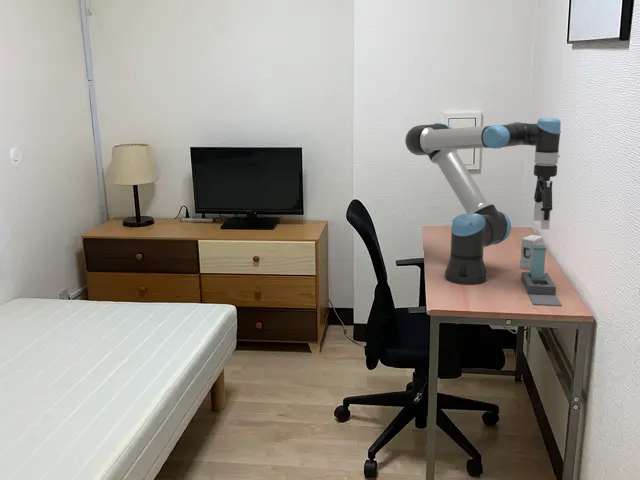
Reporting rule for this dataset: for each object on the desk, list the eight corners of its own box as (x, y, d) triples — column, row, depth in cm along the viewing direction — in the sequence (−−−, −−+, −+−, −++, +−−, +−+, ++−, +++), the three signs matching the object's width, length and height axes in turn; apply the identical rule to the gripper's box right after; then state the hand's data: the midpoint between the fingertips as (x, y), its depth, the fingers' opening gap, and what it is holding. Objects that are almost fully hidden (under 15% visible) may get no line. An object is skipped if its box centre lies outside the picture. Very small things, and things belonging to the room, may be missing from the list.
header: (555, 295, 217) (556, 287, 216) (528, 294, 218) (528, 285, 217) (546, 280, 232) (547, 272, 231) (521, 279, 233) (521, 271, 232)
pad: (561, 306, 207) (562, 305, 206) (533, 304, 208) (533, 303, 208) (556, 296, 215) (556, 295, 215) (528, 295, 216) (528, 294, 216)
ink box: (529, 262, 254) (531, 234, 251) (541, 265, 251) (543, 236, 248) (519, 267, 248) (521, 238, 245) (531, 270, 245) (533, 240, 242)
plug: (543, 286, 226) (546, 248, 222) (530, 285, 227) (533, 247, 223) (540, 282, 230) (544, 244, 226) (528, 282, 231) (531, 244, 227)
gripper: (565, 169, 205) (559, 233, 210) (550, 159, 229) (545, 217, 234) (541, 169, 206) (536, 232, 211) (528, 159, 230) (524, 216, 235)
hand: (541, 224), depth 223 cm, fingers open, 13 cm apart
